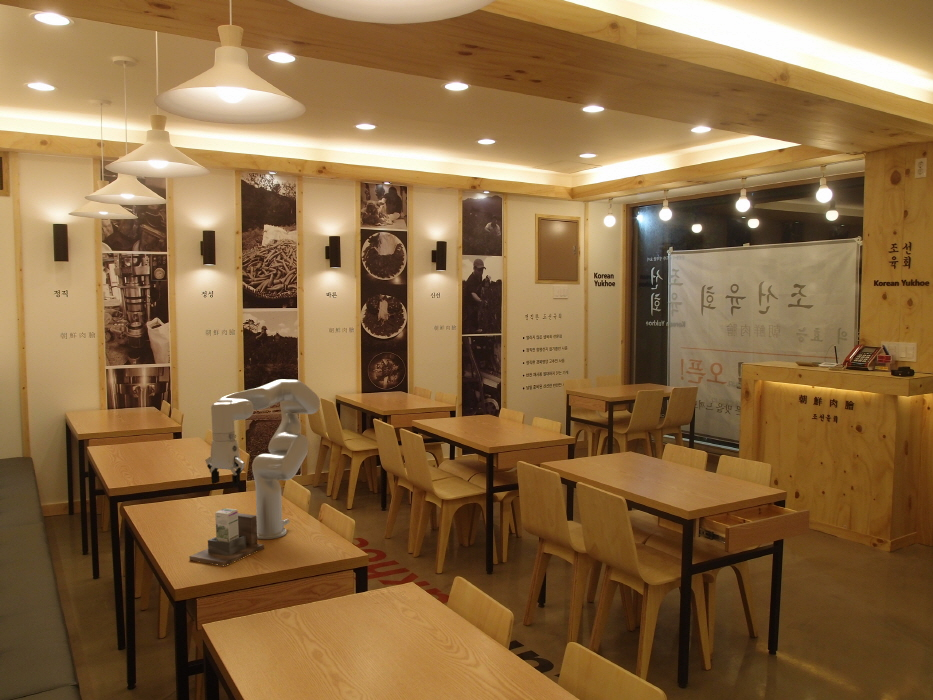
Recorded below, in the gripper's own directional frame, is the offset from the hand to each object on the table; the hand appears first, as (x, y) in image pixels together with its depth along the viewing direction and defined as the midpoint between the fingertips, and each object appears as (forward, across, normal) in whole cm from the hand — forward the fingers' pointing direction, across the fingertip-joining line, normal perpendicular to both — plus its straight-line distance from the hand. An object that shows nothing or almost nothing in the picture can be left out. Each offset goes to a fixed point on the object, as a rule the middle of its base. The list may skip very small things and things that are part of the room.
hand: (225, 484), depth 261 cm
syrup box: (+24, 0, +1) cm, 24 cm away
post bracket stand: (+25, 0, +1) cm, 25 cm away
